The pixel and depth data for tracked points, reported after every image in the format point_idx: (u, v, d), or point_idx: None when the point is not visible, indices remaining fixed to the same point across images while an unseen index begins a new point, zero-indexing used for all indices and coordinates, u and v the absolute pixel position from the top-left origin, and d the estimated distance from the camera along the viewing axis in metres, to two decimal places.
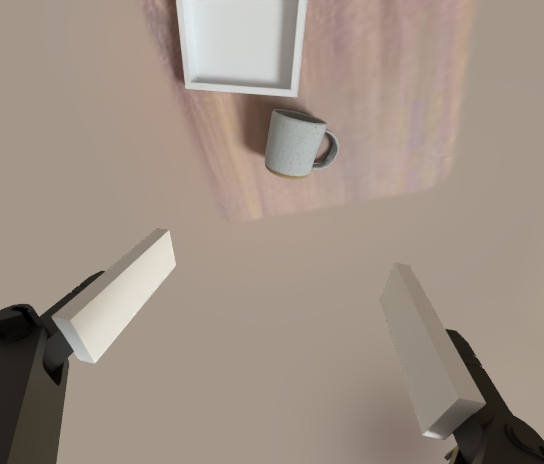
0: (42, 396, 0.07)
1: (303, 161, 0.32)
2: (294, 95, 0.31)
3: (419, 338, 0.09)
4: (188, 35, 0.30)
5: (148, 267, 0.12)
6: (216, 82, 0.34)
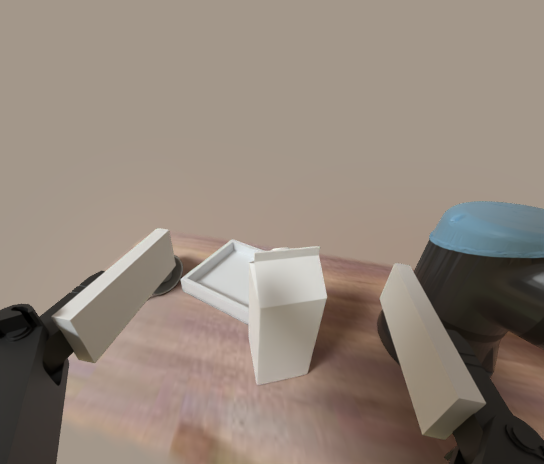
0: (42, 396, 0.07)
1: None
2: (182, 278, 0.42)
3: (419, 338, 0.09)
4: (252, 251, 0.51)
5: (148, 267, 0.12)
6: (226, 257, 0.52)
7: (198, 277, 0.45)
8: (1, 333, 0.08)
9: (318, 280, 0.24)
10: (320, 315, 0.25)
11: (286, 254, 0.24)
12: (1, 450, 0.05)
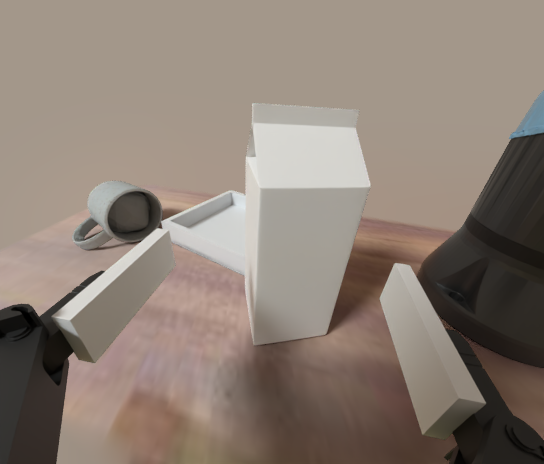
0: (42, 396, 0.07)
1: (97, 191, 0.32)
2: (163, 220, 0.33)
3: (419, 338, 0.09)
4: None
5: (148, 267, 0.12)
6: (222, 209, 0.43)
7: (185, 225, 0.36)
8: (1, 333, 0.08)
9: (355, 162, 0.15)
10: (356, 223, 0.16)
11: (305, 116, 0.15)
12: (1, 450, 0.05)
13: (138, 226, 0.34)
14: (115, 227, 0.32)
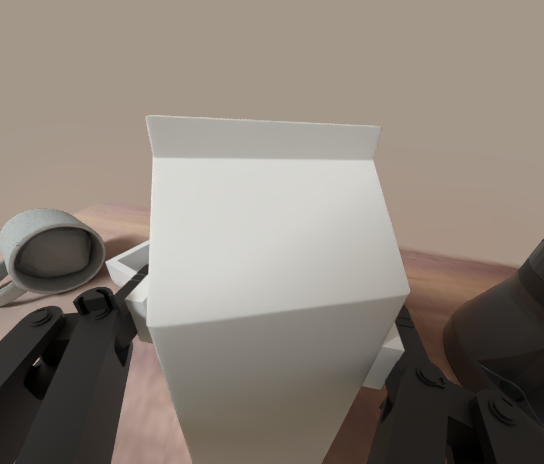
0: (111, 377, 0.08)
1: (9, 226, 0.23)
2: (108, 261, 0.25)
3: None
4: None
5: None
6: None
7: (143, 262, 0.28)
8: (86, 310, 0.09)
9: (376, 236, 0.07)
10: (375, 349, 0.08)
11: (270, 140, 0.07)
12: (76, 425, 0.06)
13: (72, 269, 0.26)
14: (36, 273, 0.24)
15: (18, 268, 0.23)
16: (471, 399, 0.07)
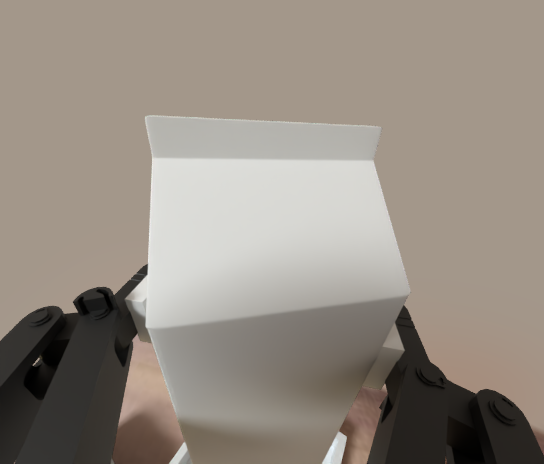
0: (111, 376, 0.08)
1: None
2: None
3: None
4: None
5: None
6: None
7: None
8: (86, 310, 0.09)
9: (377, 236, 0.07)
10: (376, 350, 0.08)
11: (270, 141, 0.07)
12: (76, 425, 0.06)
13: None
14: None
15: None
16: (471, 399, 0.07)
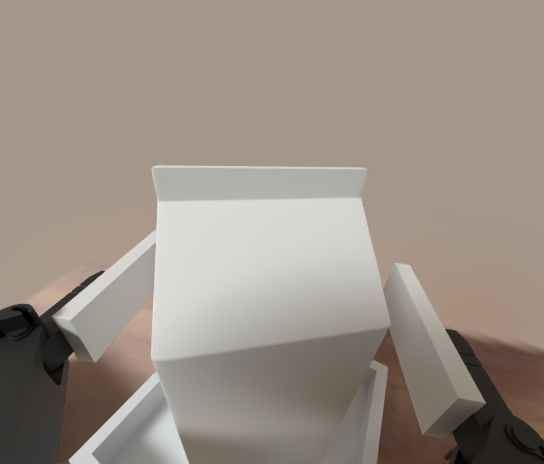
0: (42, 396, 0.07)
1: None
2: (74, 457, 0.13)
3: (419, 338, 0.09)
4: None
5: (148, 267, 0.12)
6: None
7: (140, 420, 0.17)
8: (1, 333, 0.08)
9: (362, 271, 0.08)
10: (361, 373, 0.09)
11: (264, 184, 0.08)
12: (1, 450, 0.05)
13: None
14: None
15: None
16: None
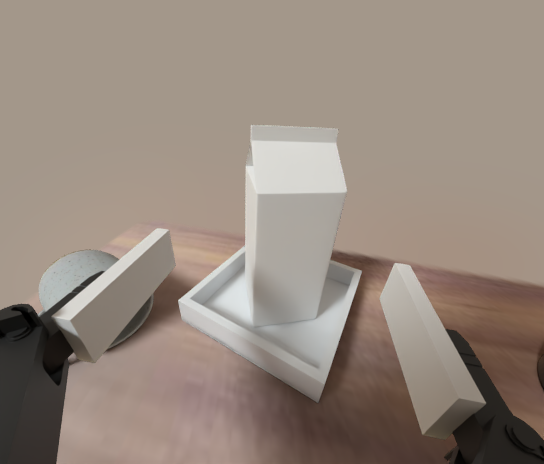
0: (42, 396, 0.07)
1: (52, 278, 0.21)
2: (181, 299, 0.24)
3: (419, 338, 0.09)
4: None
5: (148, 267, 0.12)
6: None
7: (208, 295, 0.27)
8: (1, 333, 0.08)
9: (335, 172, 0.18)
10: (336, 222, 0.19)
11: (293, 134, 0.18)
12: (1, 450, 0.05)
13: None
14: None
15: None
16: None
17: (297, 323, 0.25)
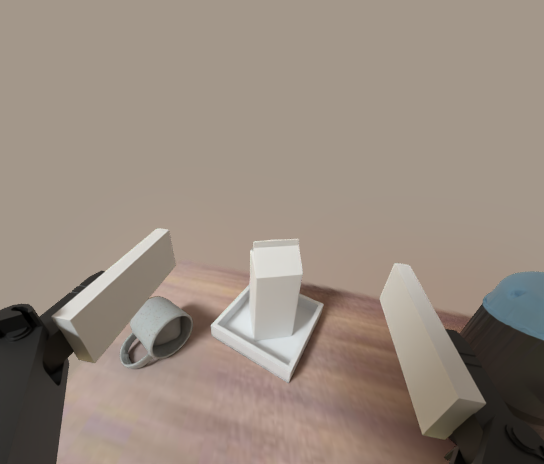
0: (42, 396, 0.07)
1: (140, 317, 0.37)
2: (212, 324, 0.41)
3: (419, 338, 0.09)
4: None
5: (148, 267, 0.12)
6: None
7: (227, 320, 0.44)
8: (1, 333, 0.08)
9: (297, 262, 0.35)
10: (298, 287, 0.36)
11: (275, 243, 0.35)
12: (1, 450, 0.05)
13: (173, 338, 0.40)
14: (155, 344, 0.38)
15: None
16: None
17: (280, 338, 0.42)
